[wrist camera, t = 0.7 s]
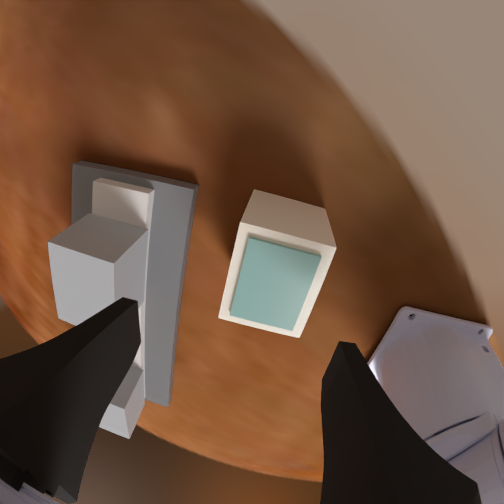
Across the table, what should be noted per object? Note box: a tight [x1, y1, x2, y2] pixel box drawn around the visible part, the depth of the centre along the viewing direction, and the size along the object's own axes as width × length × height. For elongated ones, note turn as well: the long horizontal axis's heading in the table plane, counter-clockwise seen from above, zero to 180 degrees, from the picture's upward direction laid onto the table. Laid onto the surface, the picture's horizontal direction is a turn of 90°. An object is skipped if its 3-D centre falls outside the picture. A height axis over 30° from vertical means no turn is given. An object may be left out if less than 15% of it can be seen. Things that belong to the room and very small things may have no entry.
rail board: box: [48, 161, 199, 439], centre depth 19 cm, size 8×20×6 cm, turn 167°
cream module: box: [218, 189, 337, 338], centre depth 16 cm, size 4×5×5 cm
